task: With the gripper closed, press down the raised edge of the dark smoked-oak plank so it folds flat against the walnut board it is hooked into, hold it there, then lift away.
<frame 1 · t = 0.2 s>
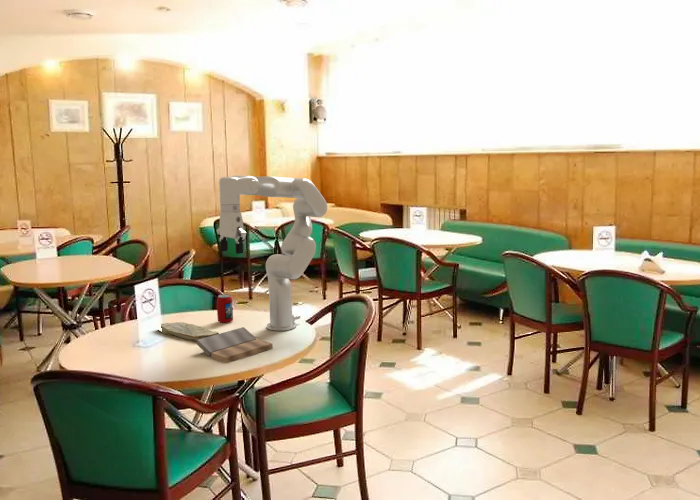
hand: (231, 252, 254), 36 cm above the table, fingers open, 9 cm apart
smoked oak plank: (227, 341, 249), point 3 cm above the table, hinge at 22.0°
walnut board: (242, 352, 244), on the table
stone slab: (186, 335, 270), on the table
beverage can: (225, 322, 288), on the table
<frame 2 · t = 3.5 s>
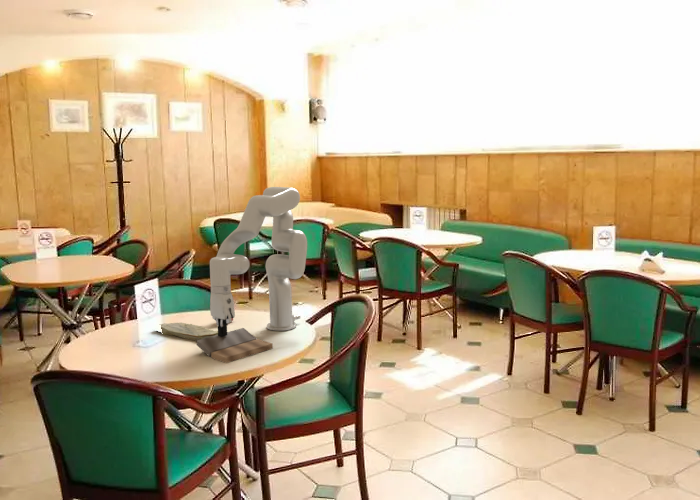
hand: (222, 335, 250), 5 cm above the table, fingers closed
smoked oak plank: (227, 341, 249), point 3 cm above the table, hinge at 19.9°, touching gripper
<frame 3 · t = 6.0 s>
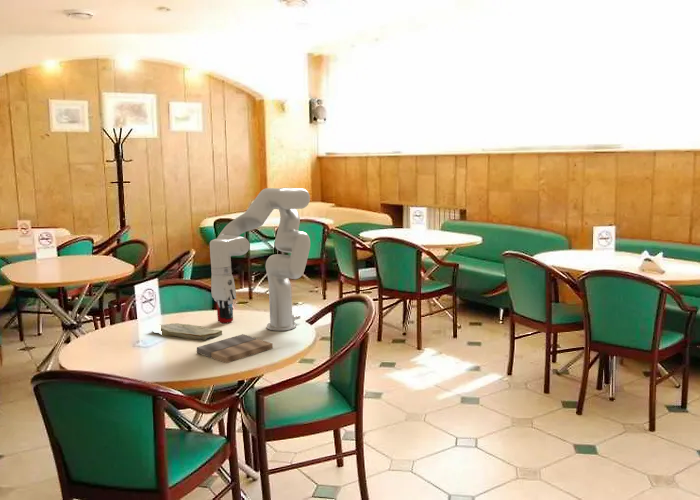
hand: (224, 317, 251), 12 cm above the table, fingers closed
smoked oak plank: (227, 345, 250), point 1 cm above the table, hinge at 1.6°
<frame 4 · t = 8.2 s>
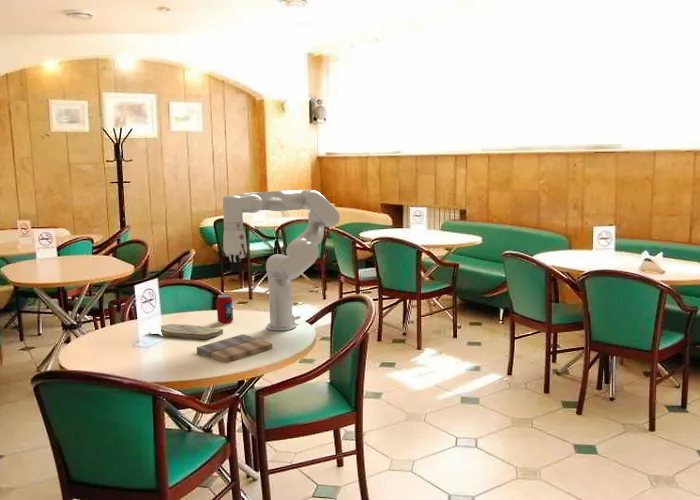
hand: (235, 271, 261), 27 cm above the table, fingers closed
at the end: smoked oak plank at +2° (first picture: +22°) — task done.
